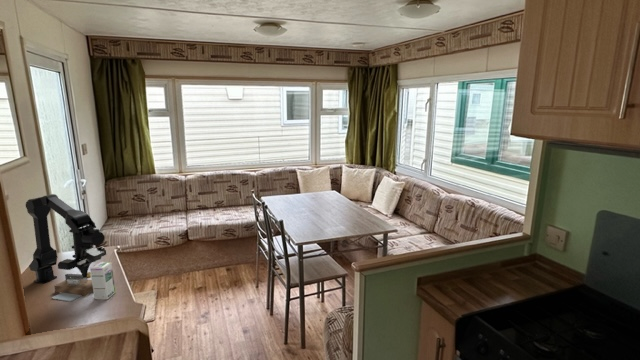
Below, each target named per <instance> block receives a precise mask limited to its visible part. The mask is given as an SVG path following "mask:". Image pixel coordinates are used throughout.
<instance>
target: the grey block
mask: <svg viewBox="0 0 640 360" xmlns="http://www.w3.org/2000/svg"><path fill="white" fill-rule="evenodd" d="M87 280H88V278H74V277H70V278H69V279H67V285H71V286H78V287H79V286H81V285H82V284H84V283H86V282H87Z"/></svg>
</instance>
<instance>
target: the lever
mask: <svg viewBox="0 0 640 360" xmlns="http://www.w3.org/2000/svg"><path fill="white" fill-rule="evenodd" d="M71 277H74V278H84V277H83V276H82V273H80V274H79V273H66V274H65V275H64V280H66V282H67V279H69V278H71ZM85 278H87V279H90V278H91V271H88V272H87V277H85ZM91 279H92V278H91Z"/></svg>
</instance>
